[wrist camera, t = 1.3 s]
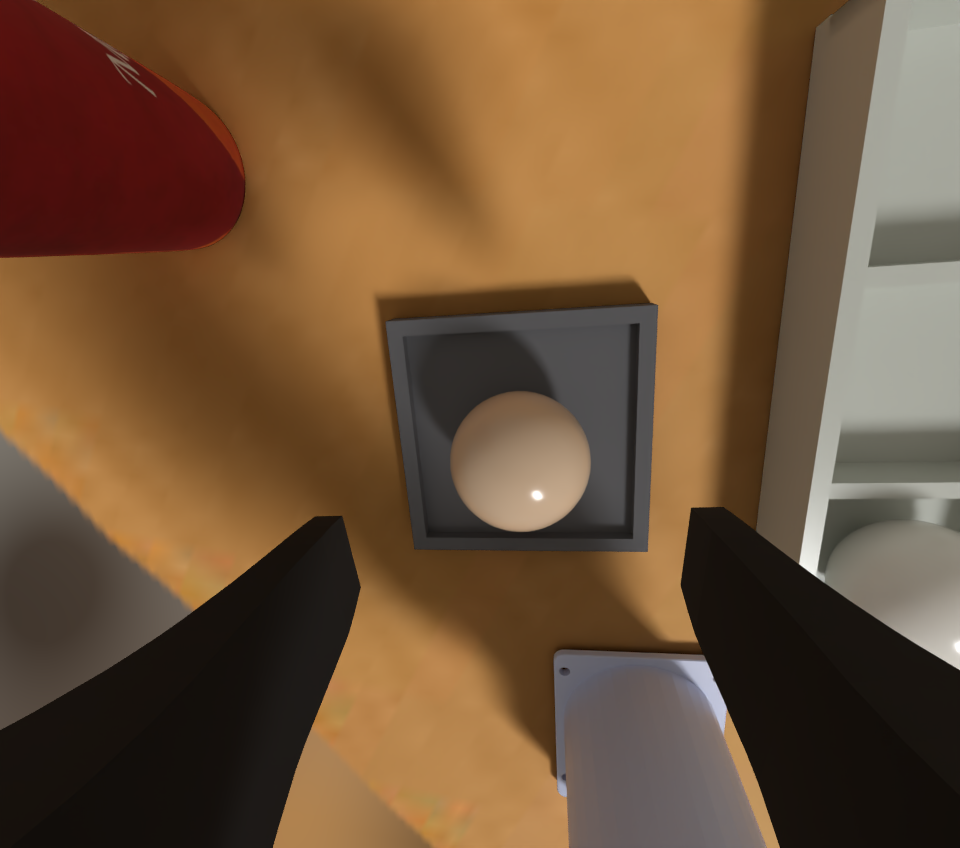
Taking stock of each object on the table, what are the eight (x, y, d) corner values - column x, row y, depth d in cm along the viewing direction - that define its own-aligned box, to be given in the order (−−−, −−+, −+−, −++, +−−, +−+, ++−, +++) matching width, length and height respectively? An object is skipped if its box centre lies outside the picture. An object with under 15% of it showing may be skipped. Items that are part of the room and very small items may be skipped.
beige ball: (585, 492, 20) (597, 562, 15) (467, 493, 20) (443, 560, 16) (584, 374, 18) (598, 411, 14) (457, 380, 19) (428, 416, 14)
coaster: (642, 537, 21) (647, 551, 20) (420, 536, 22) (414, 549, 21) (651, 302, 18) (658, 304, 17) (393, 318, 19) (385, 321, 18)
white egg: (924, 606, 19) (1048, 716, 14) (791, 603, 20) (868, 706, 15) (953, 494, 18) (1101, 576, 13) (807, 495, 18) (898, 573, 14)
